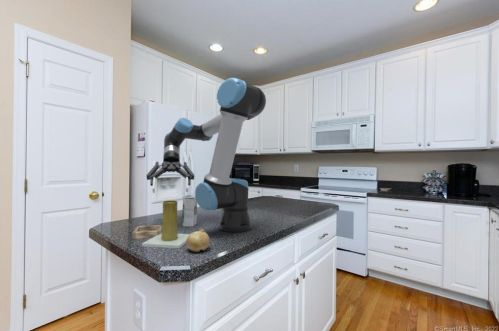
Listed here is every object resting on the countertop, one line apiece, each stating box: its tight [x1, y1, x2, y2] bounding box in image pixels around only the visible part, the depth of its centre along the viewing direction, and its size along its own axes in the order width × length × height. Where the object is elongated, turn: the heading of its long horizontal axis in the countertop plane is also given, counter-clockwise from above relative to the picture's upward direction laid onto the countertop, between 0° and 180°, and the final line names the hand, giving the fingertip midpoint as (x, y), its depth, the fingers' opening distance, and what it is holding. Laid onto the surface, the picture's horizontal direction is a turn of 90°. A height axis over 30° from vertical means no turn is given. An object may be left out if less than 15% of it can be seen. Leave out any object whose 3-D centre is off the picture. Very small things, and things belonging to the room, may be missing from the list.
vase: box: [161, 200, 179, 241], centre depth 91 cm, size 6×6×14 cm
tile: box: [141, 233, 191, 249], centre depth 91 cm, size 14×14×1 cm
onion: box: [185, 227, 211, 253], centre depth 82 cm, size 8×8×7 cm
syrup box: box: [181, 194, 198, 228], centre depth 116 cm, size 6×6×14 cm
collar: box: [131, 224, 162, 240], centre depth 99 cm, size 10×10×2 cm
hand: (170, 190), depth 101 cm, fingers open, 13 cm apart
